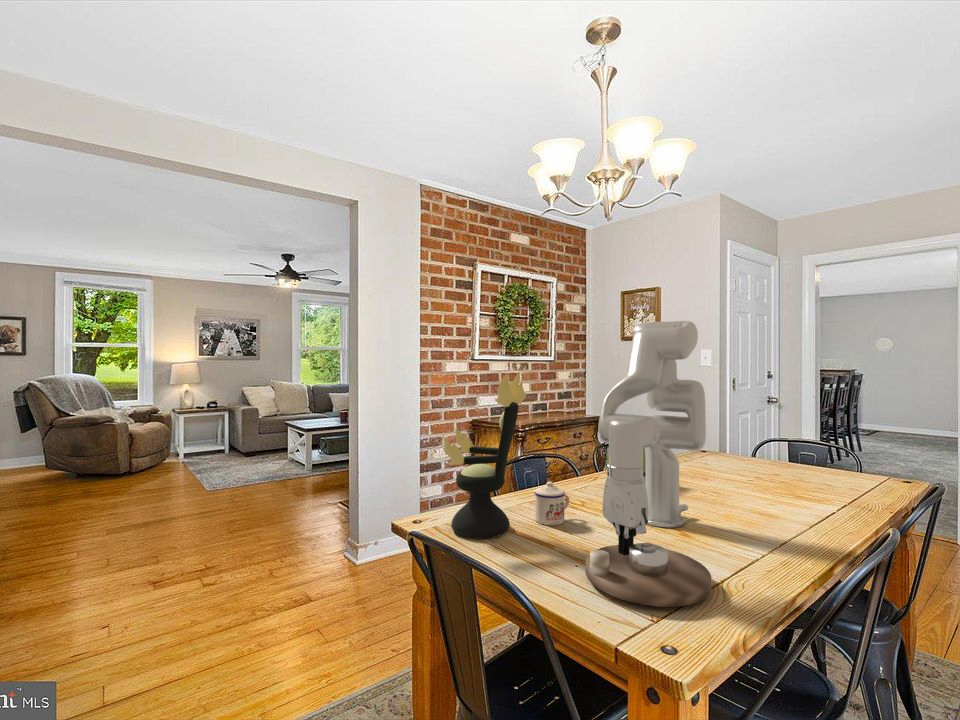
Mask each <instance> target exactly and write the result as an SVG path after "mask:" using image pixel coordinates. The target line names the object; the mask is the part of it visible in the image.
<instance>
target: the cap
mask: <svg viewBox="0 0 960 720" xmlns="http://www.w3.org/2000/svg"><path fill="white" fill-rule="evenodd" d="M666 549H667V548H664V546H661V545H658V544H654V543H650V542H638V543H637V542H636V543H634V544H633V545H631V546H630V547H629V567H630V569H631V570H632V571H634V572H636V573H638V574H641V575H645V576H653V577H657V576H663V575H666V574H667V573H668V551H667V550H666Z"/></svg>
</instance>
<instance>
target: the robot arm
mask: <svg viewBox="0 0 960 720" xmlns="http://www.w3.org/2000/svg"><path fill="white" fill-rule="evenodd" d="M698 339H699V333H698V329H697V326H696V324H695V323H694V322H693V321H690V320H675V321H651V322H650V321H647V322H641V323H639V324H637V325H635V326H634V327H633V329H632V341H631V346H630V351H629V357H628V363H627V368H626V374H625V376H624V378H623V379H621V380H620V381H618V382H617V383H616V384H615V385H614V386H613V387H612V388H611V390H609V391H608V393H607V394H606V396H605V397H604V399H603V401H602V404H601V409H600V415H599V419H598V429H597V430H598V436H599V438H600V439H601V441H602V442H603V443H606V444H608V448H609V464H608V466H606V467H607V468H608V470H609V476H606V478H605V482H604V487H603V495H602V497H603V498H602V516H603V518H605V519H606V521H607V522H609V523H610V524H611V525H612V526H613V527H614V529H615V534H616V535H617V537H618V544H617V545H618V552H619V553H620V554H622V555H624V556H625V555H629V547H630V546H631V545H633V544H635V543H634V538H635V537H637V535H643V534H646V533H647V531H648V530H647V527H646V526H648V525H650V526H654V527H659V528H679V527H682V526H684V525H685V523H686V519H685V517H684V516H682V514H681V513H682V512H686V511H688V510H689V506H688V504H687V503H683V504H680V464H679V463H680V462H679V459H678V457H677V456H676V455H675V454H674V452H673V451H672V449H673V450H674V449H675V450H687V451H699V450H701V449H703V448H704V446H705V445H706V439H707V437H706V436H707V434H706V433H707V432H706V431H707V427H706V426H707V425H706V424H707V423H706V420H707V419H706V417H707V416H706V394H705V389H704V386H703V384H702V383H701V382H699V381H698V380H694V379H679V378H678V376H677V375H678V373H677V371H678V369H677V366H678V365H677V361H676V360H686V359H687V358H689V357H690V355H692V353H693V351H694V350H695V349H696V347H697V344H698ZM644 394H646V401H647V402H646V403H647V405H648V407H649V408H650V410H654V411H656V412H657V411H658V412H671V413H684V414H686V415H687V416H679V415H677V416H676V415H663V414H662V415H661V414H655V415H649V416H648V415H642V414H641V415H638V414H637V415H636V414H627V413H626V414H625V413H624V414H623V413H617V411H618V409H619V408H620V406H622V404H624V403H626V402H627V401H629V400H632V399H633V398H636V397H639V396H642V395H644ZM643 448H645V482H644V481H643ZM607 468H606V469H607Z"/></svg>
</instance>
